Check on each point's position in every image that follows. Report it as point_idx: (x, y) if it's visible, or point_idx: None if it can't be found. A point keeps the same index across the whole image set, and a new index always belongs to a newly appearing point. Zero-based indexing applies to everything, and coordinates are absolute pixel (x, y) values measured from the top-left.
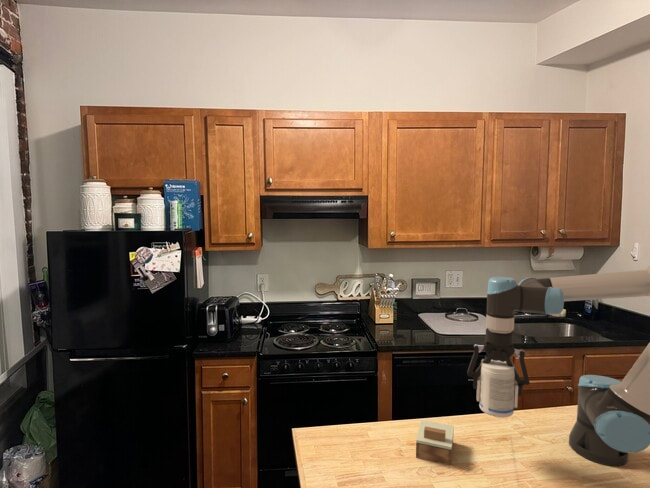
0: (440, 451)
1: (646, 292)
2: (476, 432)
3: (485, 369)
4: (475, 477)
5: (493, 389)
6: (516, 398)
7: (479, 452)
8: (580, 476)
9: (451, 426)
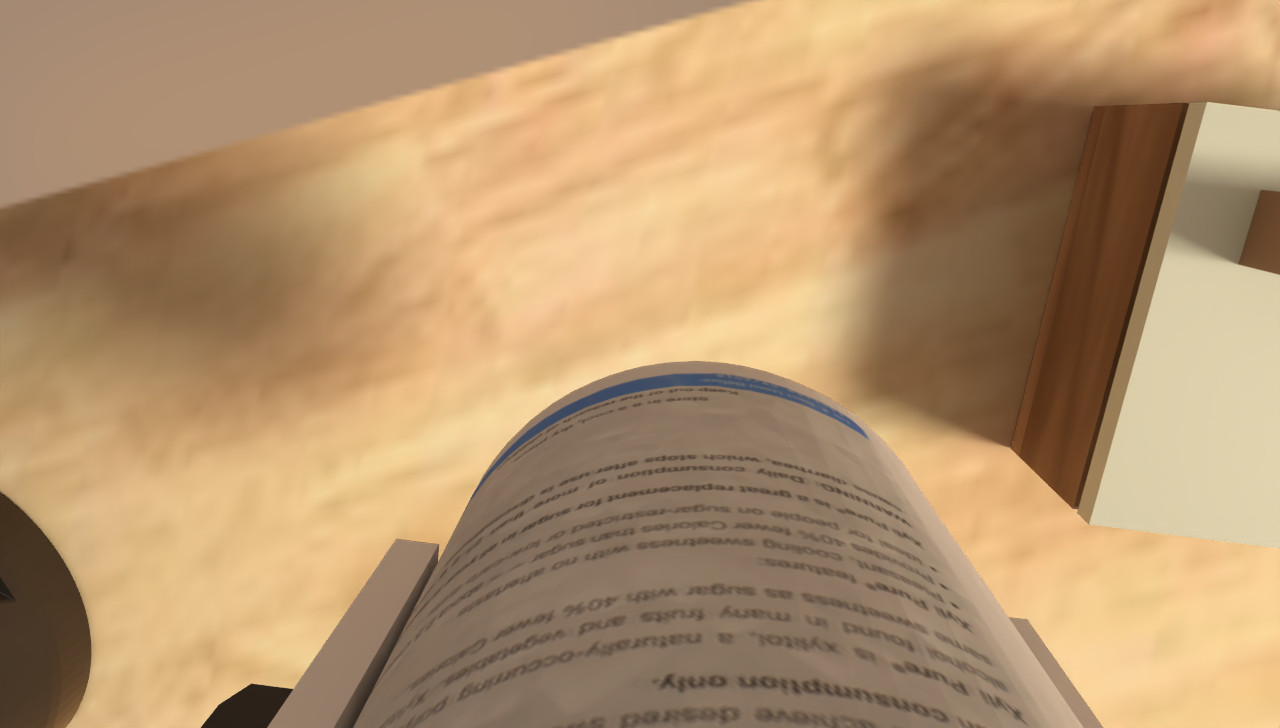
0: None
1: None
2: None
3: None
4: (904, 27)
5: (895, 595)
6: (357, 627)
7: None
8: (83, 259)
9: (1116, 507)
